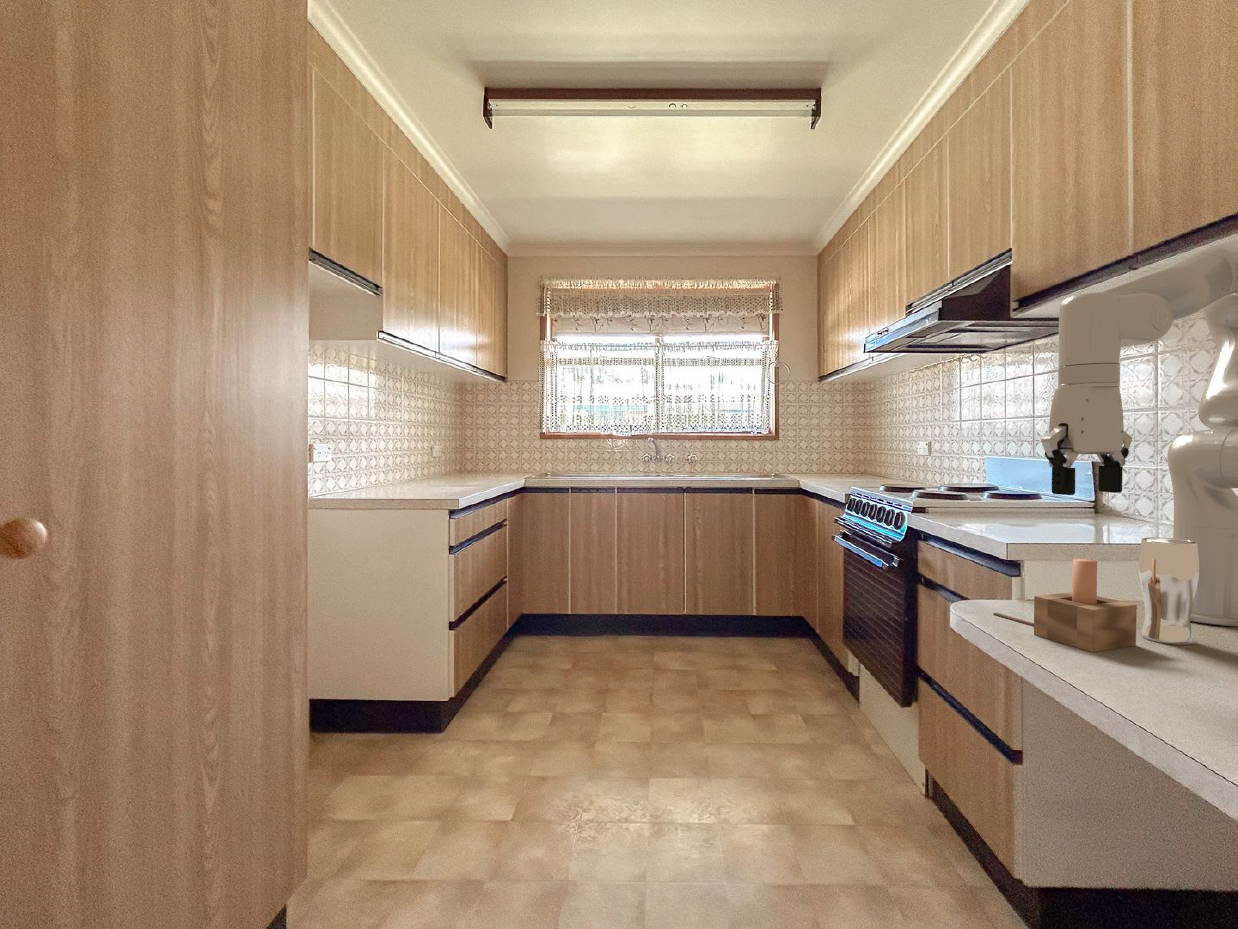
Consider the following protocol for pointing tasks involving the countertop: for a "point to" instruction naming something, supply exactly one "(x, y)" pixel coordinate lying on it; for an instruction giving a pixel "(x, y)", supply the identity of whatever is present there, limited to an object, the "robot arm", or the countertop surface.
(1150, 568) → the beer glass
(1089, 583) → the dowel
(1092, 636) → the wooden block with hole
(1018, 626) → the countertop surface
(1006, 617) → the brown thin square rod
